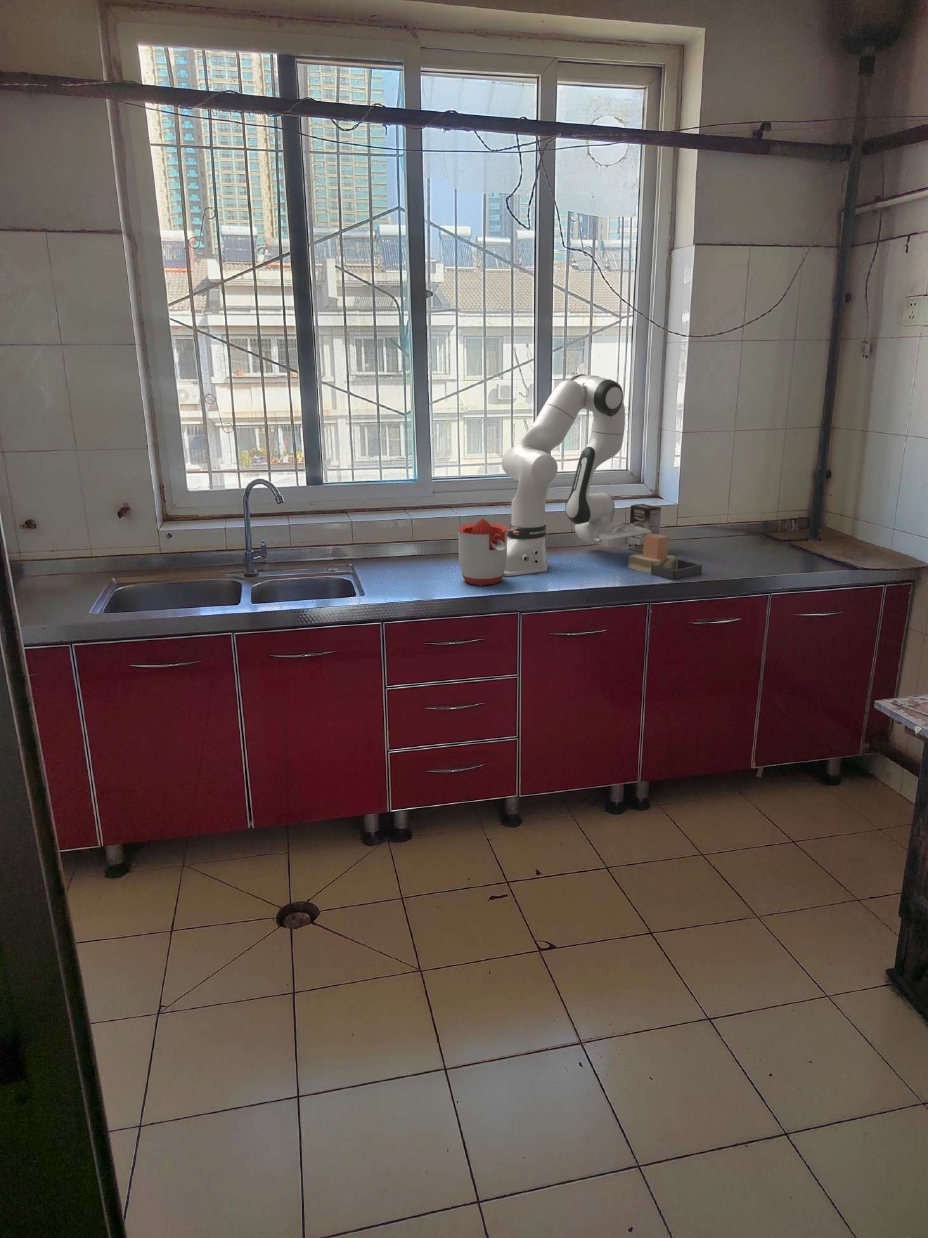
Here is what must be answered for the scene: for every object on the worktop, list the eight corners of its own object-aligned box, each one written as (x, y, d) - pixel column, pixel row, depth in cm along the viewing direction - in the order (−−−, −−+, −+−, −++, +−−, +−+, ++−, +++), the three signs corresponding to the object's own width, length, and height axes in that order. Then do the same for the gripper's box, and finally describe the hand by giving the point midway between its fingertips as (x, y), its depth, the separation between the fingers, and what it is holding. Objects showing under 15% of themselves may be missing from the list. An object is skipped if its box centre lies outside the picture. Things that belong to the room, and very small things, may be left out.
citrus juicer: (481, 592, 243) (481, 526, 237) (448, 580, 257) (447, 517, 250) (521, 583, 252) (522, 519, 246) (487, 572, 265) (487, 511, 259)
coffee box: (627, 549, 294) (629, 505, 289) (639, 546, 298) (641, 503, 293) (646, 553, 287) (649, 508, 282) (658, 551, 291) (661, 506, 286)
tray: (673, 580, 252) (674, 571, 251) (650, 574, 260) (651, 565, 259) (701, 574, 259) (701, 564, 258) (678, 568, 267) (678, 559, 266)
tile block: (656, 559, 262) (658, 538, 260) (642, 556, 267) (644, 535, 264) (667, 557, 265) (668, 536, 262) (653, 554, 269) (654, 533, 267)
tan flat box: (650, 573, 260) (651, 561, 259) (628, 567, 268) (628, 556, 267) (676, 568, 267) (676, 556, 266) (653, 562, 275) (653, 551, 274)
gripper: (591, 529, 273) (620, 536, 262) (633, 522, 284) (663, 528, 273) (590, 548, 275) (619, 555, 264) (632, 540, 286) (662, 546, 275)
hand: (642, 541), depth 269 cm, fingers closed
